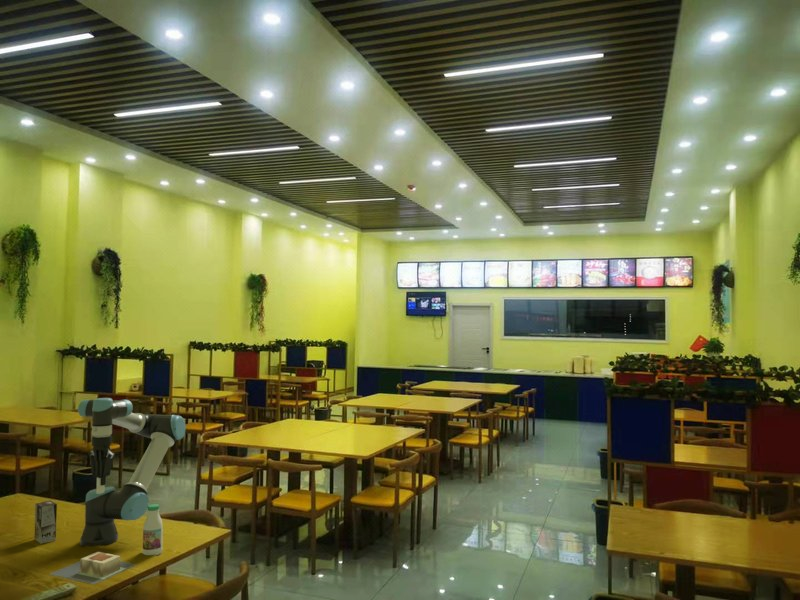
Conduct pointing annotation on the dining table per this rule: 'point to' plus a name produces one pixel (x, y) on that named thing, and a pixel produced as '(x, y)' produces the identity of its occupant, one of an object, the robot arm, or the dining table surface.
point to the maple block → (100, 564)
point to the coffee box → (45, 521)
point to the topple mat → (75, 573)
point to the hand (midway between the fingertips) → (100, 492)
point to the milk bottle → (153, 532)
